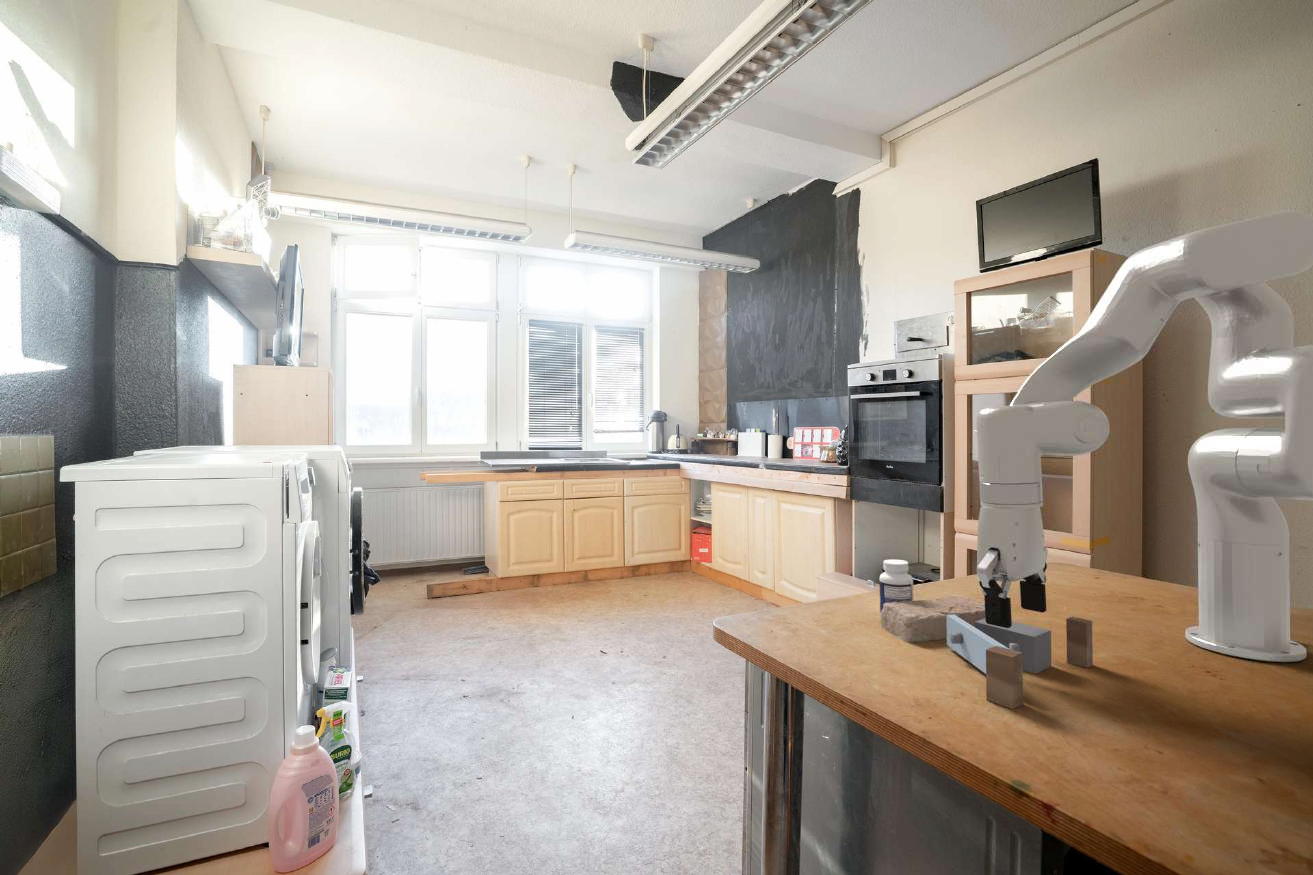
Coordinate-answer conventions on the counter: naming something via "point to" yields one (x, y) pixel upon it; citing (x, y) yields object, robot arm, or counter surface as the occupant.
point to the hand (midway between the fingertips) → (1016, 617)
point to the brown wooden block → (1004, 676)
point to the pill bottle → (895, 582)
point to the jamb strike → (1079, 641)
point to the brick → (928, 617)
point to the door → (971, 641)
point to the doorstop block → (1023, 642)
